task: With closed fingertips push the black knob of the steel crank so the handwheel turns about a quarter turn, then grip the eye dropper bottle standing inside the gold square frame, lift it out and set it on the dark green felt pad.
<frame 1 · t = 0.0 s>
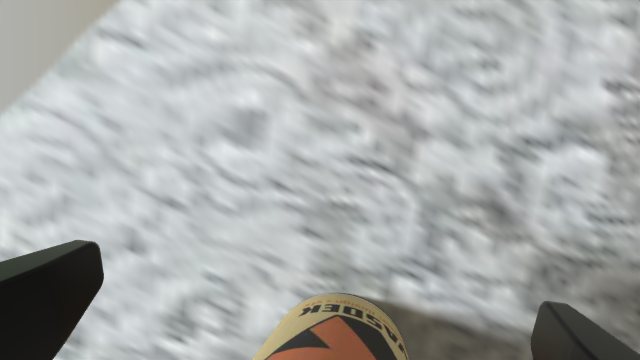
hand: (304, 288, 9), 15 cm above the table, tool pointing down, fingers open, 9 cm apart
coffee cup: (338, 355, 26), on the table
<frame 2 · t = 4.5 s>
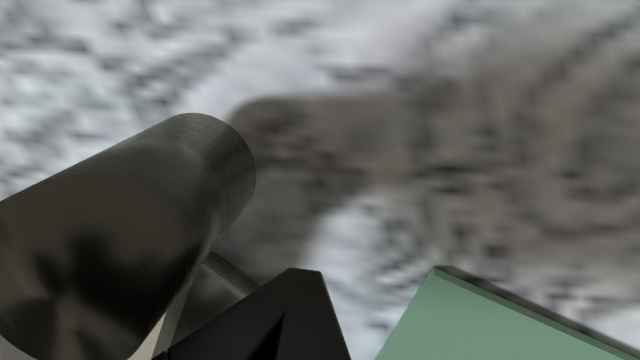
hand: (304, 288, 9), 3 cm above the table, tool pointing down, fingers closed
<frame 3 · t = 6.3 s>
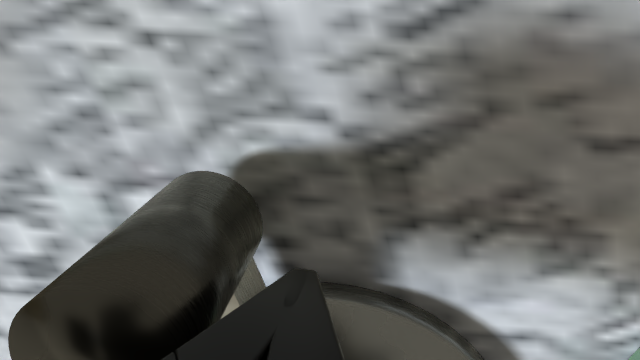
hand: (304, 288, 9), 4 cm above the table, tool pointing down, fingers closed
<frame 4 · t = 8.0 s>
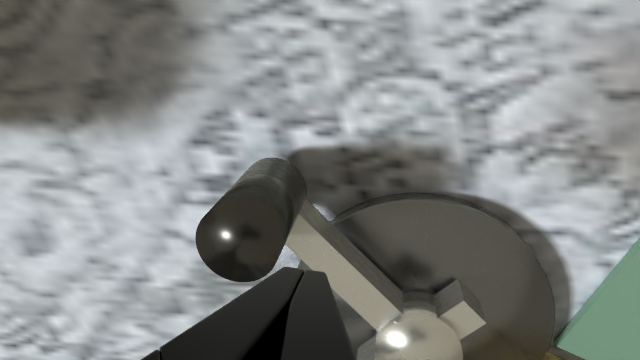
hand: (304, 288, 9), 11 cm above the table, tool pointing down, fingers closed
crank base: (414, 307, 22), on the table
handwheel crank: (345, 295, 17), point 4 cm above the table, hinge at 68.4°
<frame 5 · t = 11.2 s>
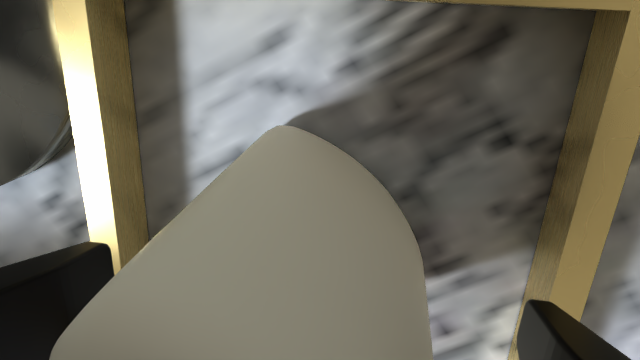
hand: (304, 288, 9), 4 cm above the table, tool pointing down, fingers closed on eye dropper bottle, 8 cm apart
gold square frame: (329, 213, 12), on the table
eye dropper bottle: (330, 209, 12), resting in gold square frame, touching gripper
when the fingers open (5 cm above the table, at t = 16.2 s): eye dropper bottle stays where it is, resting on felt pad.
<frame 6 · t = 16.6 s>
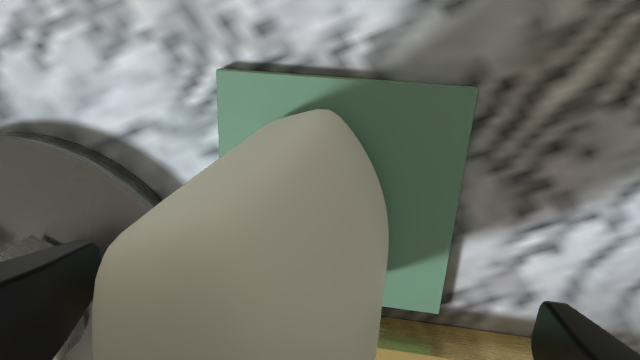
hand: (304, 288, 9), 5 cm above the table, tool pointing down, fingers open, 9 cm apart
felt pad: (336, 194, 13), on the table
crank base: (62, 288, 17), on the table
eye dropper bottle: (328, 199, 13), resting on felt pad
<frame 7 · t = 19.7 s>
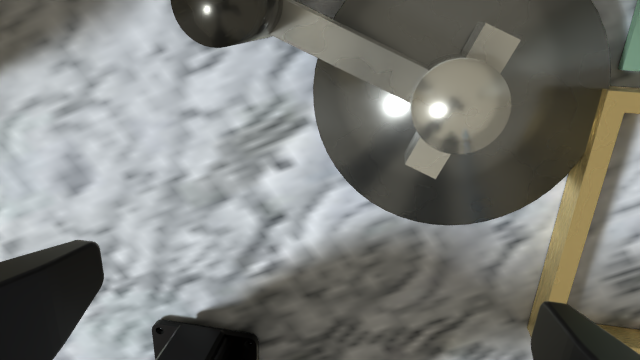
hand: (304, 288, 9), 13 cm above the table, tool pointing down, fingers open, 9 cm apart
crank base: (450, 93, 20), on the table
handwheel crank: (356, 59, 16), point 4 cm above the table, hinge at 68.4°
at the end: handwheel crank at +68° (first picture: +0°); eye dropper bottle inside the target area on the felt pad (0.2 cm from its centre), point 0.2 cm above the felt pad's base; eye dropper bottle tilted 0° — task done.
